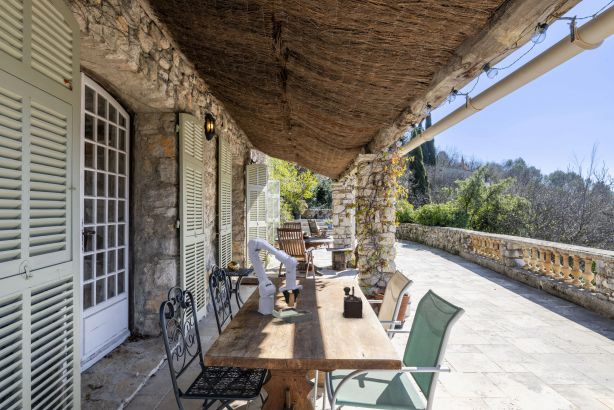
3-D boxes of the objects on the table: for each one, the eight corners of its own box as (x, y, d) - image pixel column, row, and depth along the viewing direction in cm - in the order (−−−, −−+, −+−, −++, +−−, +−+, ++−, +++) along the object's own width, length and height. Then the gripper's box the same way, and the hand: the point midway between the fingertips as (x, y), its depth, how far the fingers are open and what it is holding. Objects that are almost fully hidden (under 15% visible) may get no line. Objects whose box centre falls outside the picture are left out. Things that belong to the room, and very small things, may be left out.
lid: (272, 315, 188) (272, 310, 188) (291, 311, 195) (291, 306, 195) (278, 318, 182) (278, 313, 182) (298, 314, 189) (298, 309, 189)
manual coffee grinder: (342, 312, 207) (342, 281, 207) (361, 313, 206) (361, 282, 206) (343, 320, 191) (343, 287, 191) (363, 321, 190) (363, 288, 191)
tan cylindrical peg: (286, 305, 200) (286, 293, 200) (292, 304, 202) (292, 292, 202) (289, 307, 197) (289, 294, 197) (295, 306, 199) (295, 293, 199)
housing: (276, 316, 199) (276, 309, 199) (297, 312, 207) (297, 306, 207) (291, 323, 186) (291, 317, 186) (312, 319, 193) (312, 312, 193)
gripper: (283, 281, 192) (283, 306, 192) (305, 278, 200) (305, 302, 200) (277, 279, 198) (276, 303, 198) (298, 276, 206) (298, 300, 206)
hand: (290, 303), depth 200 cm, fingers closed on tan cylindrical peg, 4 cm apart
